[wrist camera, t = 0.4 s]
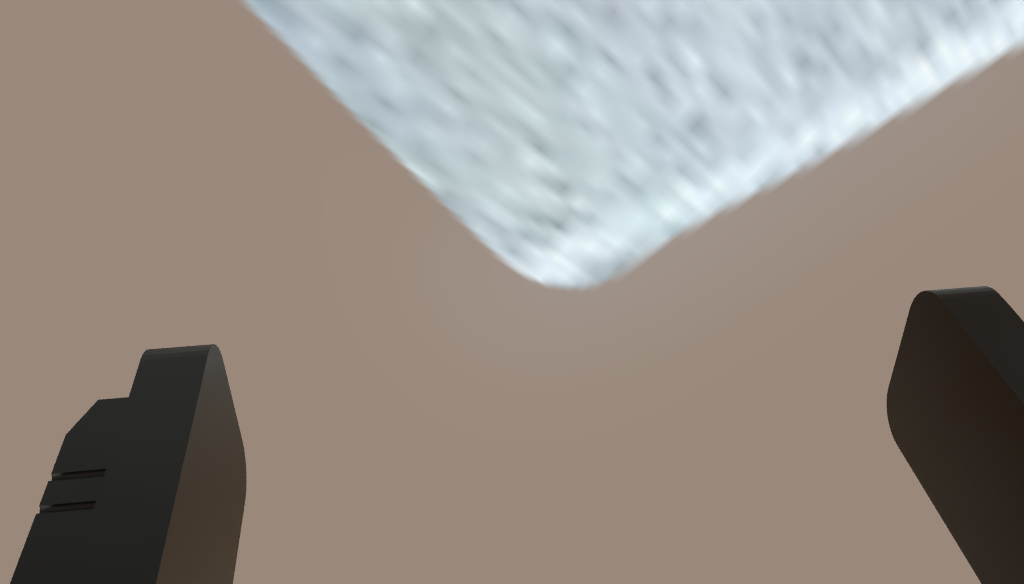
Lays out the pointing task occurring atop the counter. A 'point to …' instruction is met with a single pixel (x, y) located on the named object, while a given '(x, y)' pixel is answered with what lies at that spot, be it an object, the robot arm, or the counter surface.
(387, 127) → the counter surface
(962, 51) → the counter surface
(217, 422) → the robot arm
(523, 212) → the counter surface
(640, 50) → the counter surface
